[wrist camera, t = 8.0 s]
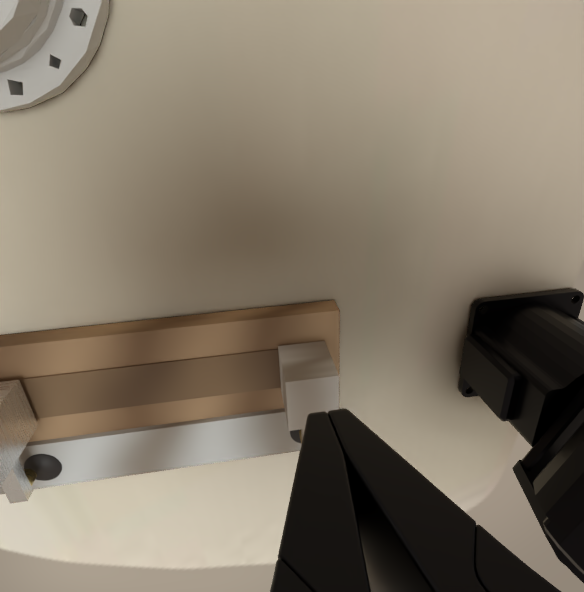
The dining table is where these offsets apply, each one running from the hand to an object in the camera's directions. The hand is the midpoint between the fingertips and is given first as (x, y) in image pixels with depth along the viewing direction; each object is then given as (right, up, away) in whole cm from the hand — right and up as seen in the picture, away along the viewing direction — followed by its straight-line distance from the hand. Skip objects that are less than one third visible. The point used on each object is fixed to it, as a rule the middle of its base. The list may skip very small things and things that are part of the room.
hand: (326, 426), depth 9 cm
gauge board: (-8, -3, +13) cm, 16 cm away
